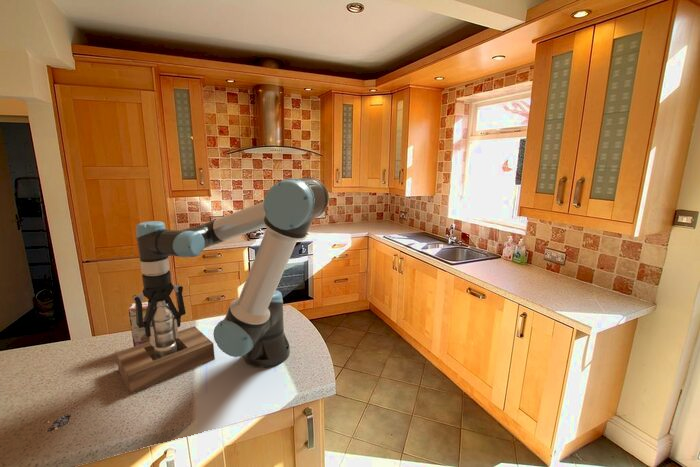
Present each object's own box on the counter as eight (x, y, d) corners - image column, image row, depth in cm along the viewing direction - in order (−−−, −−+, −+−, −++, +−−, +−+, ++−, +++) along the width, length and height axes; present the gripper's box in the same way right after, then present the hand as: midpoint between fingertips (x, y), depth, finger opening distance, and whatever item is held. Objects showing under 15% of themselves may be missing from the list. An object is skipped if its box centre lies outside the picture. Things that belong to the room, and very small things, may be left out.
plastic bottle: (169, 349, 111) (162, 293, 107) (182, 354, 108) (176, 297, 104) (150, 359, 106) (142, 300, 101) (163, 365, 102) (156, 305, 98)
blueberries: (32, 438, 80) (29, 432, 79) (58, 411, 87) (56, 405, 87) (60, 437, 80) (59, 431, 79) (84, 410, 88) (83, 405, 87)
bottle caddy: (214, 359, 110) (213, 343, 109) (131, 394, 94) (128, 375, 92) (196, 341, 121) (194, 326, 120) (118, 369, 104) (115, 352, 103)
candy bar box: (134, 353, 113) (127, 309, 110) (137, 345, 118) (131, 303, 114) (170, 347, 117) (165, 304, 114) (172, 340, 122) (167, 298, 118)
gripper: (184, 262, 110) (191, 326, 115) (116, 276, 96) (127, 347, 101) (193, 267, 105) (199, 334, 110) (122, 283, 91) (133, 357, 96)
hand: (164, 340), depth 106 cm, fingers closed on plastic bottle, 6 cm apart
